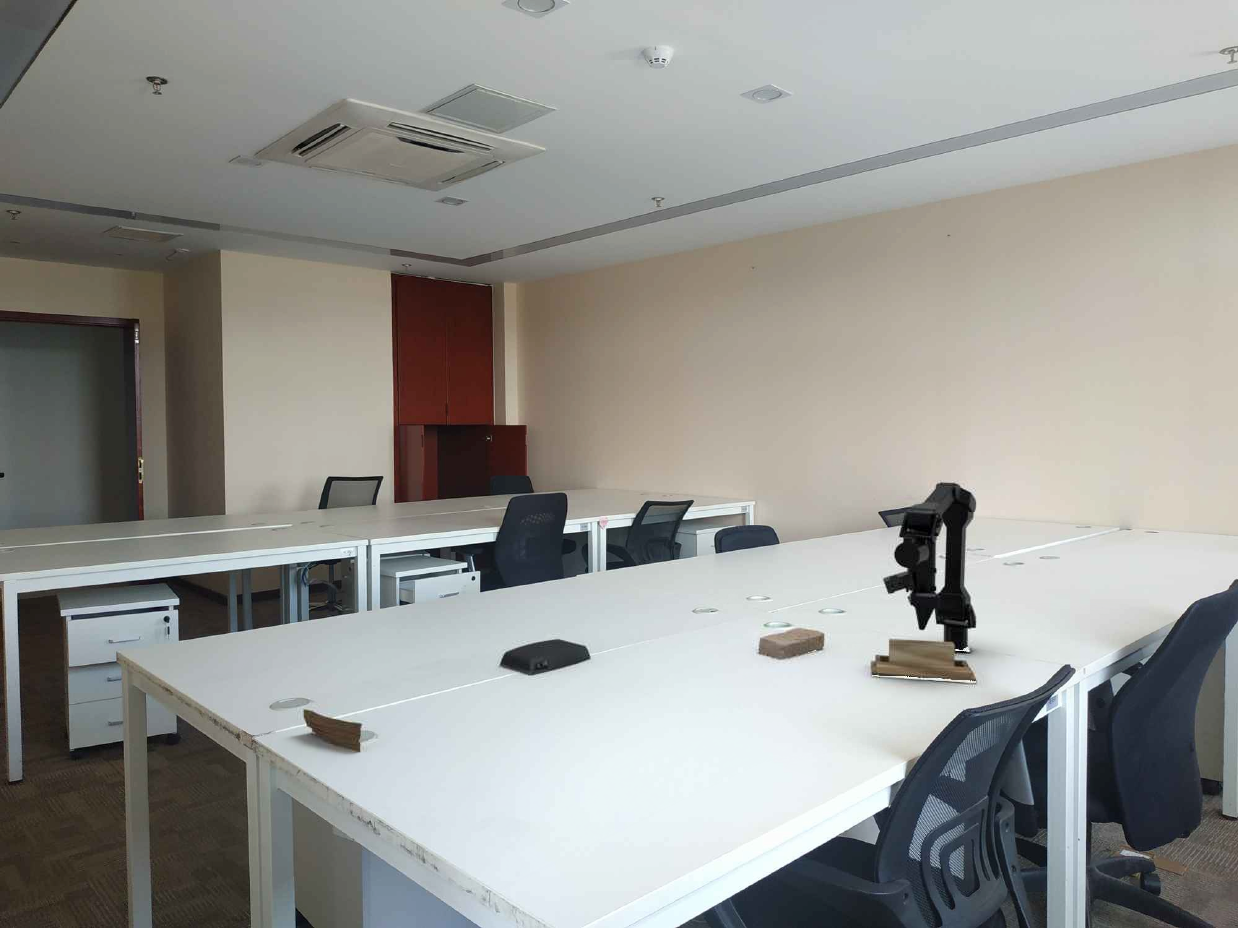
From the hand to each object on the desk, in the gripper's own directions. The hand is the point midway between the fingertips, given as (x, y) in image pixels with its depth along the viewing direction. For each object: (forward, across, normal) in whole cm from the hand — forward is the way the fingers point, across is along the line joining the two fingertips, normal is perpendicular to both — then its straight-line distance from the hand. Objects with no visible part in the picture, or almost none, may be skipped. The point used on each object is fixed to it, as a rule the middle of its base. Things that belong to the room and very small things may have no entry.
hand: (921, 629), depth 197 cm
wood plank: (+10, +72, -106) cm, 129 cm away
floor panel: (+10, +2, 0) cm, 10 cm away
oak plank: (+9, 0, 0) cm, 9 cm away
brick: (+10, -12, -30) cm, 34 cm away
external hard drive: (+11, +13, -87) cm, 88 cm away
